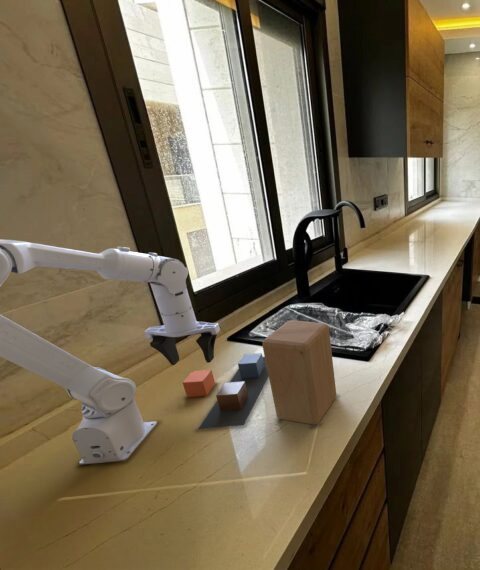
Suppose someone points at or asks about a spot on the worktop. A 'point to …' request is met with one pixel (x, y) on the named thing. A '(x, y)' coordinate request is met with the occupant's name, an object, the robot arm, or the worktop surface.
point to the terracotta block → (199, 383)
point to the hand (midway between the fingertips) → (193, 361)
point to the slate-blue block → (251, 365)
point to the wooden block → (300, 370)
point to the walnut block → (232, 396)
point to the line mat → (240, 416)
